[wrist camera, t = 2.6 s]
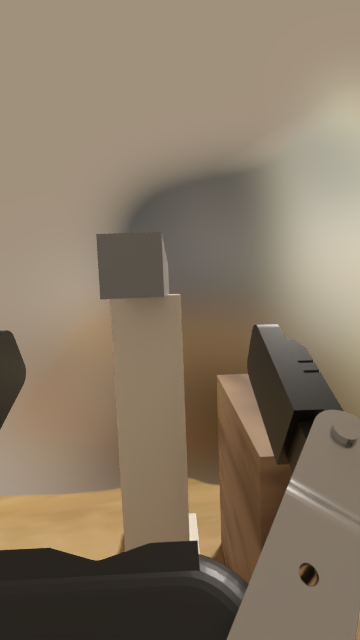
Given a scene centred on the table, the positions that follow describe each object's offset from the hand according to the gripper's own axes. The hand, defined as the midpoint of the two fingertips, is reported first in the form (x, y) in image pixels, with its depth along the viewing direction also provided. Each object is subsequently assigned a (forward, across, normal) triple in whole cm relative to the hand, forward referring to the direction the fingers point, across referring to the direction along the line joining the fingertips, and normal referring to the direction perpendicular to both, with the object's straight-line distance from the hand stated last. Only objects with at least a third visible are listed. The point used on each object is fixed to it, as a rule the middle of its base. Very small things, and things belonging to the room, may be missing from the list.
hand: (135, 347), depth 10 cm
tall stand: (+5, 0, +38) cm, 38 cm away
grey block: (+19, +1, +9) cm, 21 cm away
